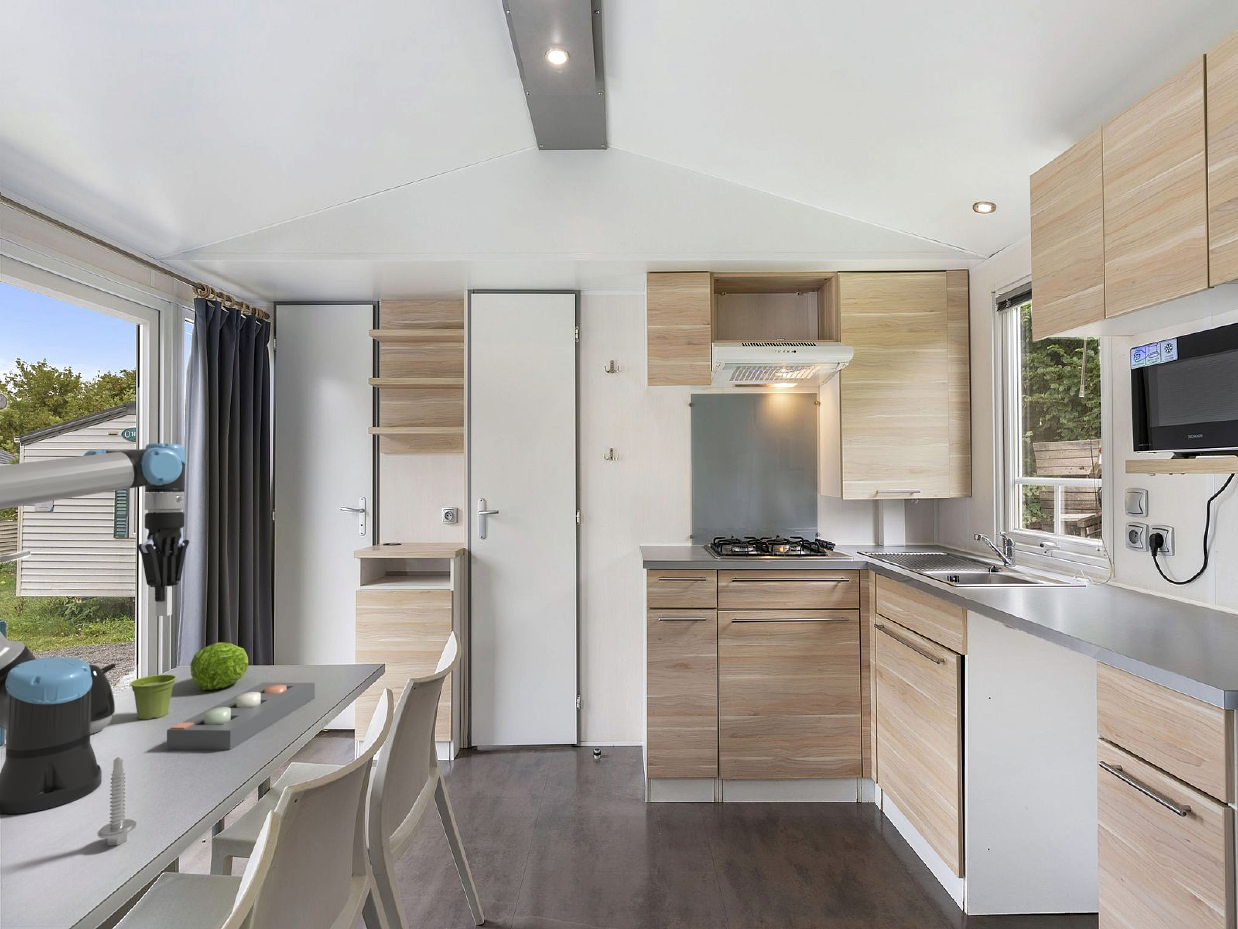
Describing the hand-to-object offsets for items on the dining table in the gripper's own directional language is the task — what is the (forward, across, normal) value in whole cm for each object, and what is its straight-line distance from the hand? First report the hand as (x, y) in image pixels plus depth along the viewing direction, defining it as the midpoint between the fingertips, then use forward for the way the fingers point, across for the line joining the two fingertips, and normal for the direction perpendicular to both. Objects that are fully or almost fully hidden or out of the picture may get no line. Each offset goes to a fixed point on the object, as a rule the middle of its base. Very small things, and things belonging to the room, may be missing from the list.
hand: (163, 615), depth 151 cm
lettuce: (+27, +38, +12) cm, 48 cm away
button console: (+26, +8, -15) cm, 31 cm away
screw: (+27, -45, -28) cm, 59 cm away
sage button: (+24, -3, -15) cm, 29 cm away
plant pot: (+27, +11, +11) cm, 31 cm away
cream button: (+24, +8, -15) cm, 29 cm away
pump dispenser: (+27, 0, +18) cm, 32 cm away
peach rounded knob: (+26, +19, -15) cm, 35 cm away
